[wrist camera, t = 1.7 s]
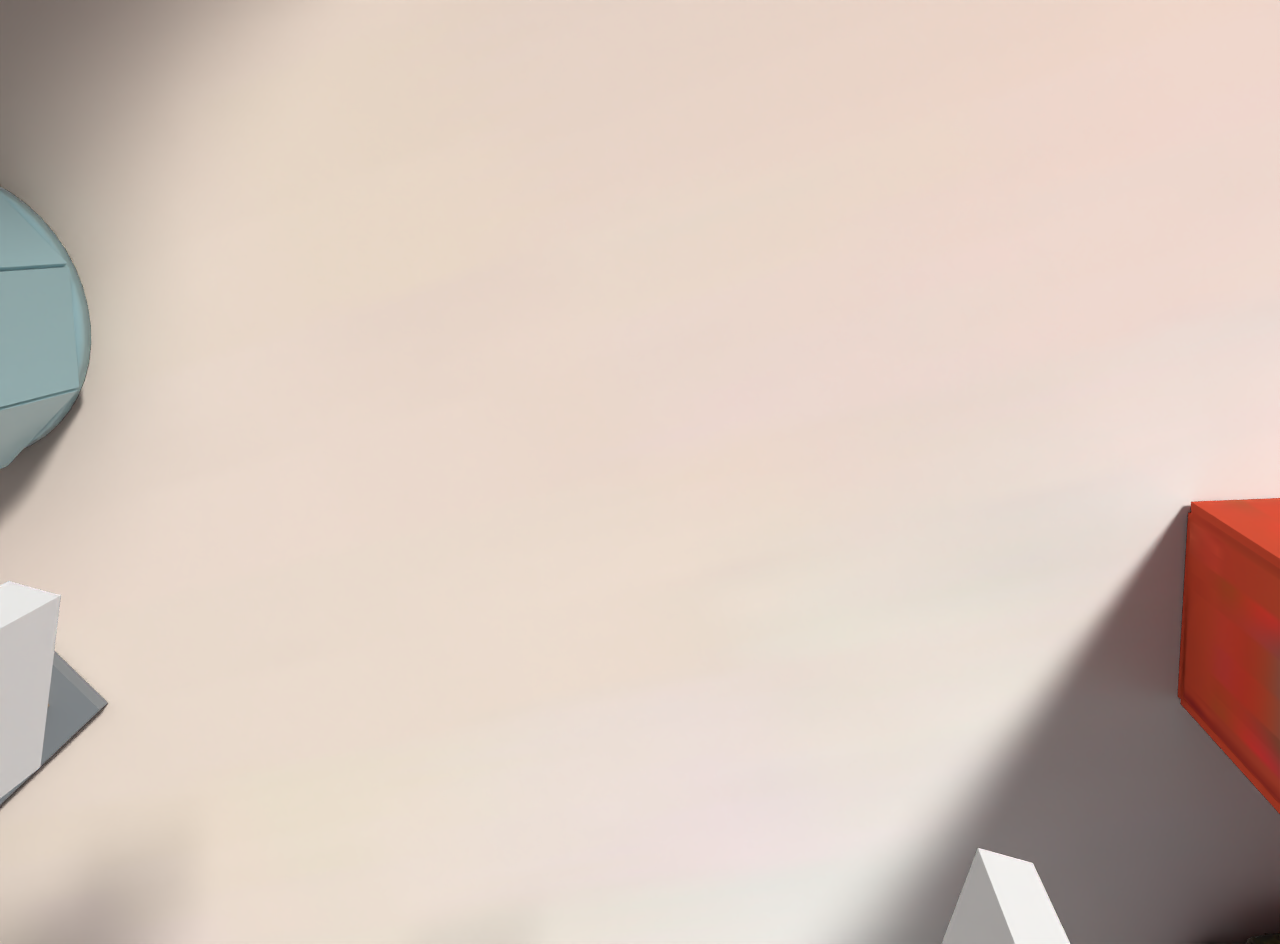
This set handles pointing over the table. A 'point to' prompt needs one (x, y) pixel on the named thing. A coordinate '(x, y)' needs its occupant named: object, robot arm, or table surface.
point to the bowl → (37, 329)
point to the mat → (65, 710)
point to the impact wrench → (1265, 939)
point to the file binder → (1235, 633)
